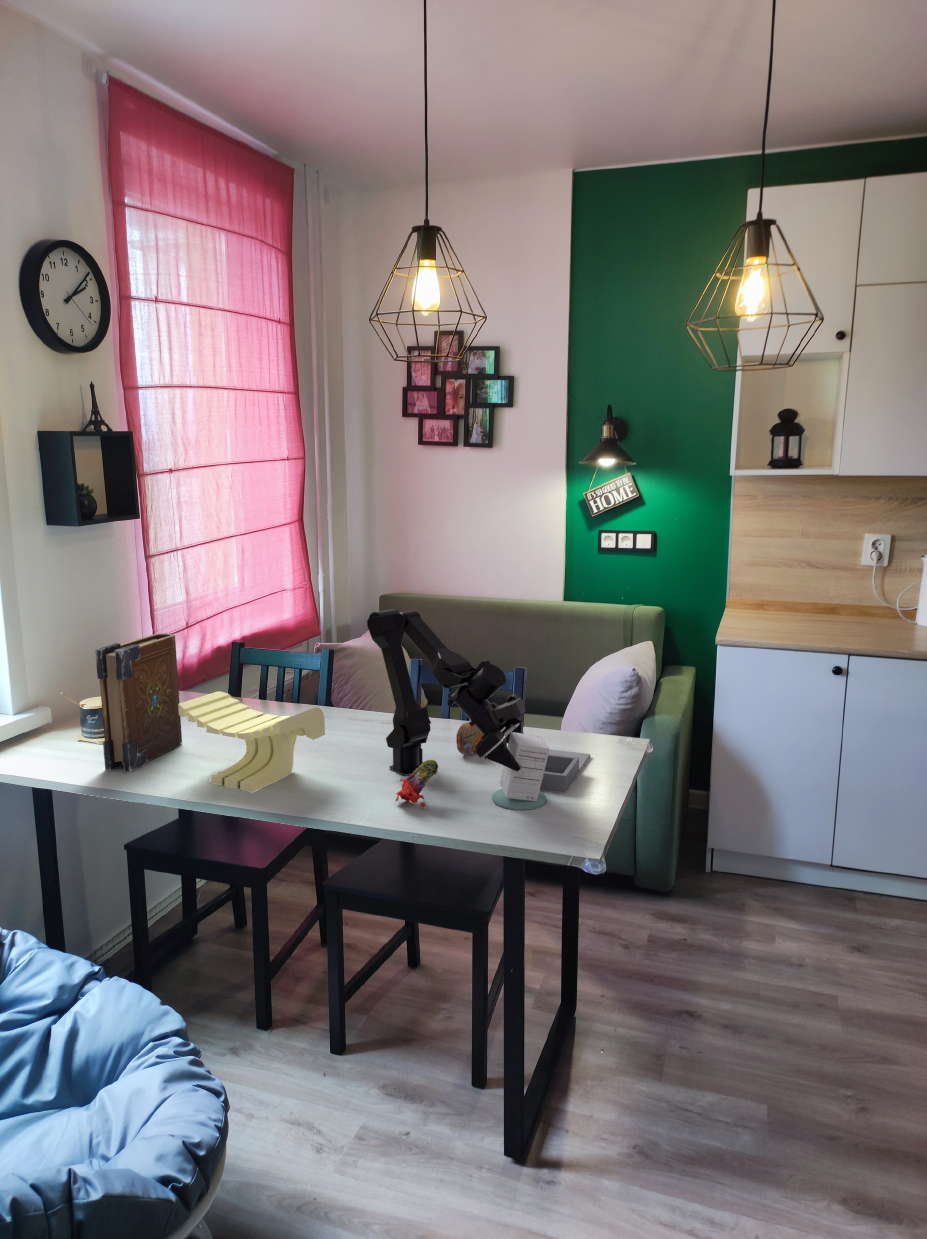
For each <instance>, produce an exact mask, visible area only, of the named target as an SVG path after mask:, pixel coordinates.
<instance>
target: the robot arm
mask: <svg viewBox="0 0 927 1239" xmlns="http://www.w3.org/2000/svg"><path fill="white" fill-rule="evenodd" d="M366 620H367V622H366V625H367V629H368V631H369V634H370V637H371V640H372V641H373V642H374V643H375V645H377V647H379V648H380V650H381V652H382V657H383V661H384V664H385V670H386V673H387V677H388V680H389V681H388V682H389V684H390V688H391V692H392V696H393V701H394V705H395V710H394V712H393V713H394V714H393V717H392V724H393V726H392V727H393V729H392V731H391V732H390V733H389V734H388V735H387V736H386V738H385V740H386V741H385V742H386V745H387V748H391V749H392V763H393V764H392V765H390V766H389V768H388V769H389V770H392V771H394V772H396V773H398V774H401V775H402V776H407V775H411V774H412V773H413V772H414V771H415V770H416V769H417V768H418V767H419V766H420V765H421V764H422V763H423V762H424V761H423V760H424V758H423V757H424V756H423V748H422V744H426V743H427V741H428V736H429V735H430V732H431V724H432V721H431V719H430V717H429V711H428V708H427V706H426V707H421V705H419V703H418V702H417V700H416V695H415V692H414V689H413V684H412V680H411V677H410V672H409V668H408V664H407V661H406V657H405V653H404V650H403V645H402V644H403V640H404V636H405V635H407V636H408V638H409V639H410V640H411V641H412V643H414V645H415V646H416V647H417V648H418V649H419V650H420V652H421V653H422V654H423V655H424V657H426V659H427V660H428V661H429V663H430V664H431V668H432V674H433V675H434V677H435V679H436V680H437V681H438V684H439V685H440V686H441V687H442V688H444V689H451V688H456V687H458V689H456V690H452V691H450V692H449V693H448V694H447V706H448V707H451V706H453V705H454V704H456V705H457V706H458V708H459V709H460V710H461V711H462V713H464V714H465V716H466V717H467V718H468V719H469V721H471V722H470V723H469V724H470V725H471V726H473V725H475V726H476V727H477V728H478V729H479V730H480V731H481V733H482V734H483V735H484V736H482V737H481V738H482V740H481V741H480V742H479V743H478V744H476V745H475V753H476V755H477V756H478V758H479V759H482V758H483V759H484V760H488V761H492V762H494V763H497V764H499V765H501V766H503V765H504V766H506V767H508V768H510V769H512V770H515V771H519V770H520V769H521V767H520V766H519V764H518V763H517V761H516V760H515V758H514V757H513V755H512V754H511V753H510V751H509V750H508V744H509V739H510V735H511V732H514V733H521V734H525V733H524V725H525V721H524V719H525V716H523V714H524V713H526V708H525V706H524V704H525V700H523V699H522V698H521V697H519V696H518V695H517V694H516V693H514V694H512V695H509V696H508V697H507V699H506V700H507V702H505V703H503V704H501V705H499V704H498V703H497V702H495V701H493V702H490V701H489V699H490V698H491V697H492V696H493V695H495V693H497V692H498V691H499V690H500V689H501V688H502V687H503V686H504V685H505V684H506V682H507V681H506V675H505V673H504V670H502V669H501V668H500V667H498V666H497V665H495V664H492V663H491V662H490V660H489V659H486V660H483V661H481V662H479V663H478V665H477V667H476V666H474V665H471V663H470V662H469V661H468V660H467V659H466V658H465V657H463V655H461V654H459V653H457V652H455V651H452V650H451V649H449V648H448V647H447V646H446V645H445V644H444V643H443V642H442V641H441V639H440V638H439V637H438V636H437V635H436V633H435V632H433V630H432V629H431V628H430V627H429V625H427V623H426V622H425V621H424V620H423V619H422V617H421V615H420V613H419V612H418V611H417V610H406V611H402V612H399V611H398V610H397V609H394V608H393V609H386V610H380V611H373V612H371V613H370V615H369V617H368V619H366ZM459 686H460V687H459ZM521 721H522V722H521Z"/></svg>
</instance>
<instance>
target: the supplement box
mask: <svg viewBox="0 0 927 1239" xmlns="http://www.w3.org/2000/svg"><path fill="white" fill-rule="evenodd" d="M507 748H508V750H509V751H510V753H511V754H512V755H513V757H514V758H515V760H516V761H517V763H518V764H519V766H520V767H521V769H520V770H519V771H515V770H512V769H510V768H508V767H506V766H504V765H502V770H501V775H500V778H499V782H498V783H499V786H500V787H501V789H503V791H504V793H505V796H506V798H512V799H520V800H528V801H537V799H538V795H539V791H540V790H541V789H540V786H541V782H542V778H543V774H544V772H545V771H544V770H545V766H546V762H547V758H548V754H549V749H550V747H549V746H548V745H547V743H546V741H545V740H544V739H543V737H542V736H540V735H535V734H527V733H524V734H521V733H514V732H511V735H510V739H509V744H508V743H507Z"/></svg>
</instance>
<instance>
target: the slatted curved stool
mask: <svg viewBox="0 0 927 1239" xmlns="http://www.w3.org/2000/svg"><path fill="white" fill-rule="evenodd" d="M178 707H179V716H180V717H187V722H192V723H195V722H196V727H198V728H205V729H206V730H205V731H206V733H207V734H213V735H221V736H225V737H229V738H237V739H239V740H243V741H245V745H246V752H245V754H244V755H243V757H242V758H240V760H239V761H237V762H236V763H235V764H233V765H231V766H229V767H228V768H226V769H224V770H221V771H219V772H217V773H215V774H213V775H211V779H210V781H208V782H209V783H210V784H214V785H218V786H224V787H227V788H231V789H239V790H240V791H244V792H248V791H249V792H248V793H252V792H253V793H255V792H257V791H259V790H261V789H264V788H265V787H267V786H269V785H271V784H273V782H274V783H276V782H278V781H279V779H280V780H282V779H284V778H286V777H288V776H289V775H291V773H292V771H293V768H294V767H293V766H294V750H295V745H296V741H297V738H298V737H299V736H300V737H304V736H306V737H307V738H308V739H311V740H312V741H314V740H317V739H319V738H321V737H323V736H325V735H326V726H325V724H326V722H325V714H324V712H323V710H322V709H321V708H320V707H317V706H315V707H312V708H310V709H307V710H305V711H302V712H301V713H297V714H295V715H281V716H280V715H274V714H270V713H264V712H262V711H258V710H255V709H252V708H250V706H249V705H247V704H245V703H242V702H241V701H240V700H238V699H236V698H233V697H232V695H231V694H229V693H227V692H225V691H214V692H211V693H208V694H205V695H201V696H198V697H195V698H193V699H190V700H186V701H183V702H180V703H179V704H178ZM287 775H288V776H287ZM283 777H284V778H283ZM281 778H282V779H281ZM275 781H276V782H275ZM258 789H259V790H258ZM256 790H257V791H256Z"/></svg>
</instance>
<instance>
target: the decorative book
mask: <svg viewBox="0 0 927 1239" xmlns="http://www.w3.org/2000/svg"><path fill="white" fill-rule="evenodd" d="M176 644H177V642H176V635H175V634H173V633H154V634H150V635H146V636H143V637H139V638H136V639H134V640H130V641H127V642H123V643H118V642H117V643H116V642H113V643H111V644H107V645H103V646H101V647H98V648H95V649H94V650H95V663H96V665H95V666H96V676H97V679H98V680H99V686H100V687H99V688H100V702H101V712H102V723H103V724H102V725H103V736H104V741H102V747H103V758H104V760H103V761H104V770H105V771H108V772H112V771H114V770H116V769H118V768H120V767H122V766H123V772H124V773H128V774H131V773H132V772H134V771H136V770H138V769H141V768H142V767H144V766H146V765H148V764H149V762H150V761H151V760H153V759H155V758H156V757H158V756H160V755H162V754H165V753H166V752H167V751H170V750H172V749H173V748H175V747H177V746H179V745H181V744H182V743H183V736H182V719H181V716H179V707H178V704H179V703H181V702H180V690H179V689H180V688H179V676H178V675H179V674H178V673H179V672H178V661H177V646H176Z"/></svg>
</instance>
